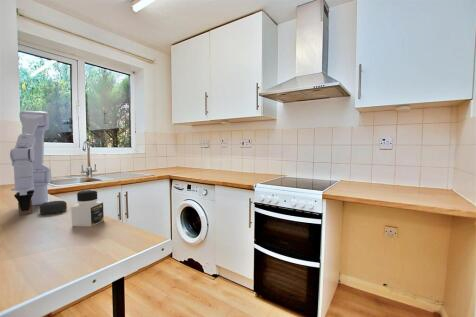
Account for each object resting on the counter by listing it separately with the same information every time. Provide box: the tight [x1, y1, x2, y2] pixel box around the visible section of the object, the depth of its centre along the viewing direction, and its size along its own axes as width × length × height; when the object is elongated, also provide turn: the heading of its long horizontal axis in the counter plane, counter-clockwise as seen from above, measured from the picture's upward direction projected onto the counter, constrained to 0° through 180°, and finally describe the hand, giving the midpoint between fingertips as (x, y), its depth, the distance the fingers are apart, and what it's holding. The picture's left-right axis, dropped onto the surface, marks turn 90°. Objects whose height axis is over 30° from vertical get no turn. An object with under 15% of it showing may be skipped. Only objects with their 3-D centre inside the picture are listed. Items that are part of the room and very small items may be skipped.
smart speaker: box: [39, 200, 68, 215], centre depth 98 cm, size 9×9×4 cm
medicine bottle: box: [70, 189, 105, 228], centre depth 83 cm, size 7×7×12 cm
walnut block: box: [17, 200, 34, 216], centre depth 96 cm, size 4×4×5 cm
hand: (25, 209), depth 96 cm, fingers closed on walnut block, 4 cm apart
